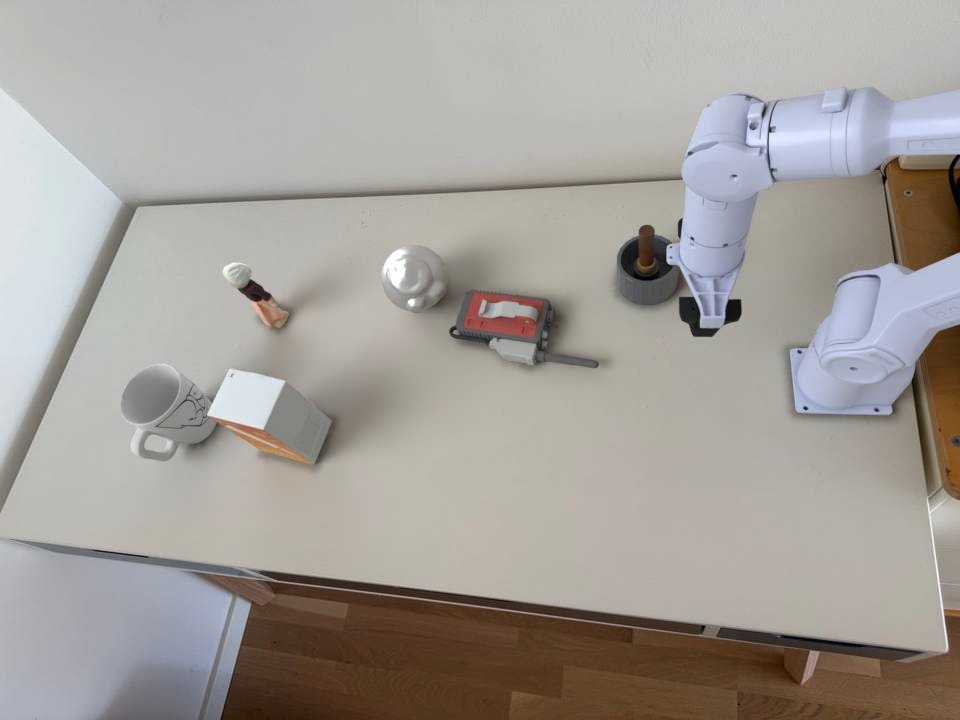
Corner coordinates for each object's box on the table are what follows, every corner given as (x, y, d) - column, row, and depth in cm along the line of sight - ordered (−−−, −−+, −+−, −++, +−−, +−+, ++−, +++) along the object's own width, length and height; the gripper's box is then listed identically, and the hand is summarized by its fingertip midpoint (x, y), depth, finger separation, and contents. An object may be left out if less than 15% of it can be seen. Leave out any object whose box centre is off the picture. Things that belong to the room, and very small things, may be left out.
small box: (262, 452, 85) (204, 415, 74) (282, 408, 87) (228, 366, 76) (315, 466, 82) (263, 430, 71) (334, 421, 85) (286, 378, 73)
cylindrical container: (676, 256, 85) (678, 232, 80) (677, 305, 81) (679, 283, 77) (618, 258, 86) (617, 235, 82) (617, 306, 83) (616, 284, 79)
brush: (659, 268, 84) (661, 218, 75) (659, 289, 82) (661, 241, 74) (633, 269, 85) (632, 220, 76) (633, 289, 83) (632, 242, 75)
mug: (195, 480, 85) (144, 456, 76) (147, 463, 88) (93, 437, 79) (236, 402, 89) (193, 371, 81) (189, 388, 92) (142, 356, 84)
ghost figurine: (387, 326, 90) (360, 287, 81) (401, 269, 94) (376, 226, 85) (449, 328, 87) (428, 288, 79) (461, 269, 91) (442, 225, 83)
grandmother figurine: (250, 323, 95) (199, 274, 84) (263, 301, 97) (215, 250, 86) (293, 335, 93) (246, 286, 82) (305, 312, 94) (261, 261, 83)
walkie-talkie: (446, 353, 86) (597, 377, 79) (437, 337, 82) (595, 361, 76) (465, 297, 89) (611, 316, 83) (457, 279, 85) (610, 297, 79)
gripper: (668, 161, 62) (662, 247, 73) (669, 291, 55) (663, 362, 67) (748, 157, 60) (729, 245, 72) (758, 291, 54) (735, 363, 66)
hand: (701, 302), depth 69 cm, fingers open, 7 cm apart
